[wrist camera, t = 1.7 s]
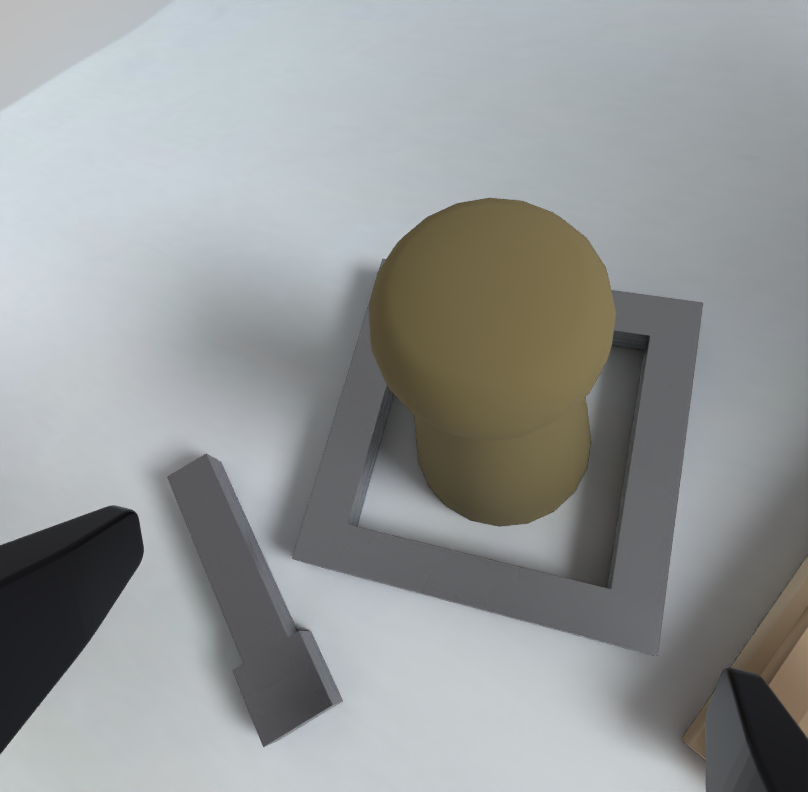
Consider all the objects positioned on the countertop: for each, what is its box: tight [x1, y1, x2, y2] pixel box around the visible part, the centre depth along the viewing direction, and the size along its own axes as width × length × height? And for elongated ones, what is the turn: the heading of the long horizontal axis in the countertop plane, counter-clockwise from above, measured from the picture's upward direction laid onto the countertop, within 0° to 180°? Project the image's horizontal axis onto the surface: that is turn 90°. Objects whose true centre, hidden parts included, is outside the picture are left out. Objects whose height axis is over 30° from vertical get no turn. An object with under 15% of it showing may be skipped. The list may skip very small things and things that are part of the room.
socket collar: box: [292, 259, 703, 656], centre depth 22 cm, size 11×11×1 cm
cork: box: [369, 198, 616, 526], centre depth 17 cm, size 6×6×11 cm
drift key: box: [167, 454, 343, 747], centre depth 22 cm, size 9×2×1 cm, turn 30°
